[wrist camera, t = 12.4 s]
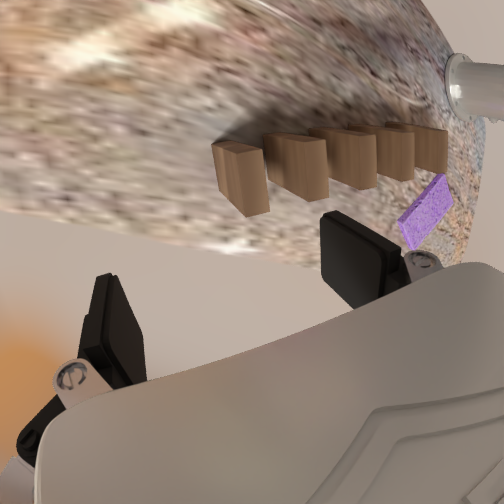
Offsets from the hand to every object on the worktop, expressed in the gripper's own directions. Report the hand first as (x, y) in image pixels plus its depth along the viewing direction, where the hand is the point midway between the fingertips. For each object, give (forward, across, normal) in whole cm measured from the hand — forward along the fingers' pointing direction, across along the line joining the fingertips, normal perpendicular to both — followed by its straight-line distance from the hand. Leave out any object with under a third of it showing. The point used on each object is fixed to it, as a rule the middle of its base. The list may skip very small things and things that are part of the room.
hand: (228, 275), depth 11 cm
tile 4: (+20, -10, 0) cm, 23 cm away
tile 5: (+20, -5, 0) cm, 21 cm away
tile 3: (+20, -16, 0) cm, 26 cm away
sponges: (+21, -37, +12) cm, 44 cm away
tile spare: (+20, -28, 0) cm, 34 cm away
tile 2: (+20, -22, 0) cm, 29 cm away
